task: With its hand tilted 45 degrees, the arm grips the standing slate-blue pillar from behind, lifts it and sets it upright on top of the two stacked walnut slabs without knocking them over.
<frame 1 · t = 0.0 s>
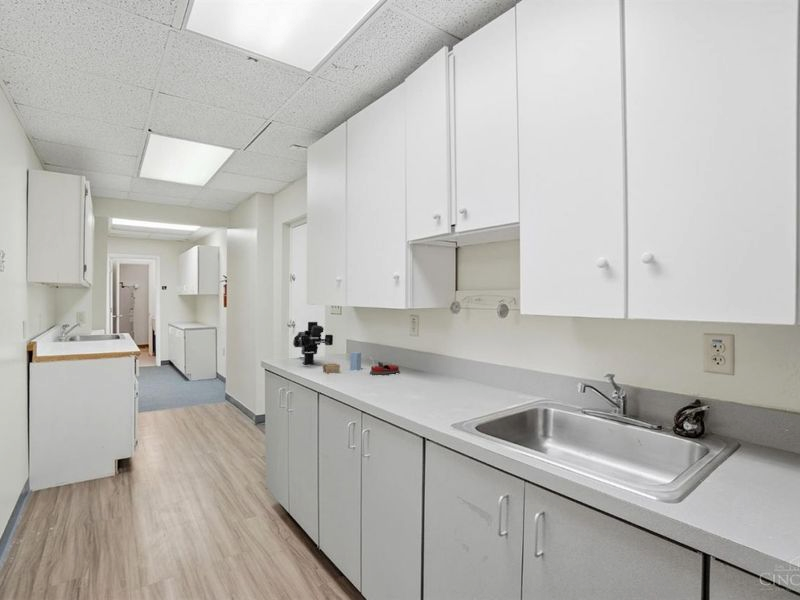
hand: (320, 341, 240), 17 cm above the countertop, tool horizontal, fingers open, 9 cm apart
bumper car: (383, 374, 235), on the countertop
slab bottom: (331, 373, 235), on the countertop, touching slab top
pillar: (355, 369, 246), on the countertop
slab top: (331, 368, 235), point 2 cm above the countertop, touching slab bottom
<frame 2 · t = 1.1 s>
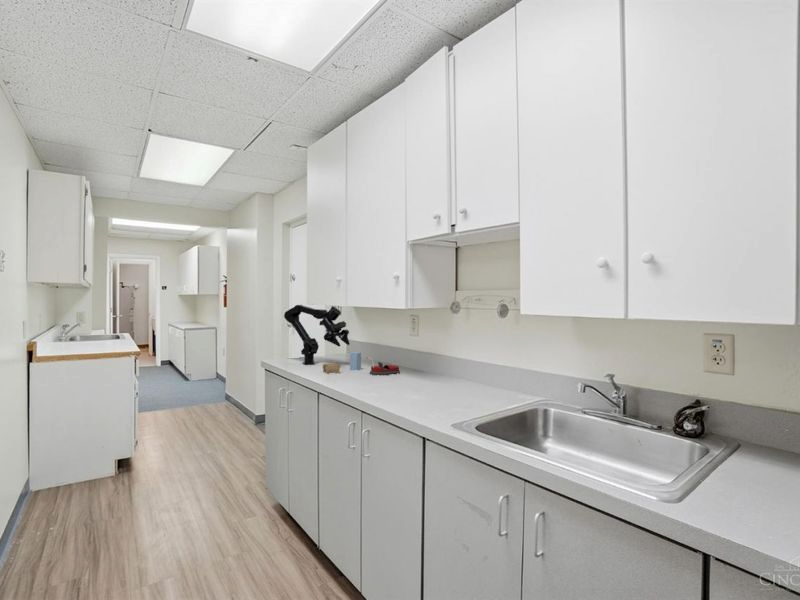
hand: (344, 345, 250), 14 cm above the countertop, tool tilted 45°, fingers open, 9 cm apart
nothing on the countertop moved.
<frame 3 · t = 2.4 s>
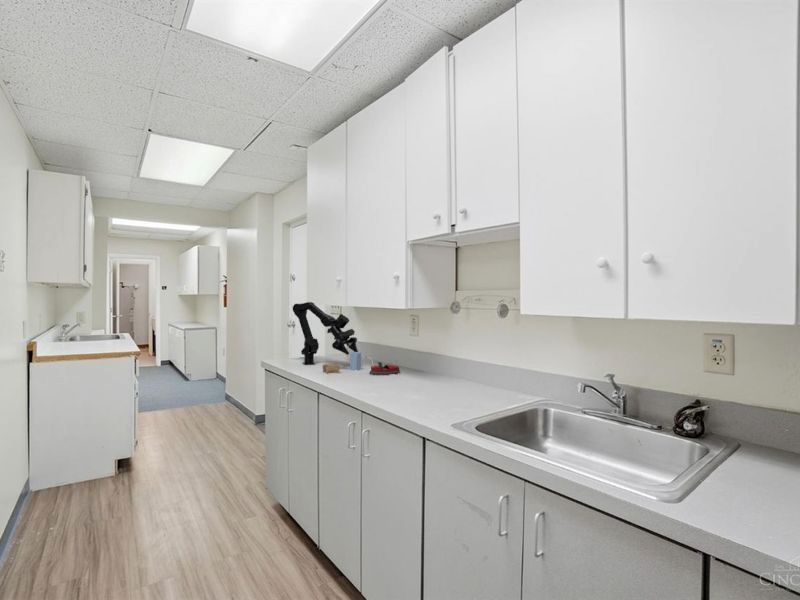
hand: (353, 353, 247), 9 cm above the countertop, tool tilted 45°, fingers open, 9 cm apart
nothing on the countertop moved.
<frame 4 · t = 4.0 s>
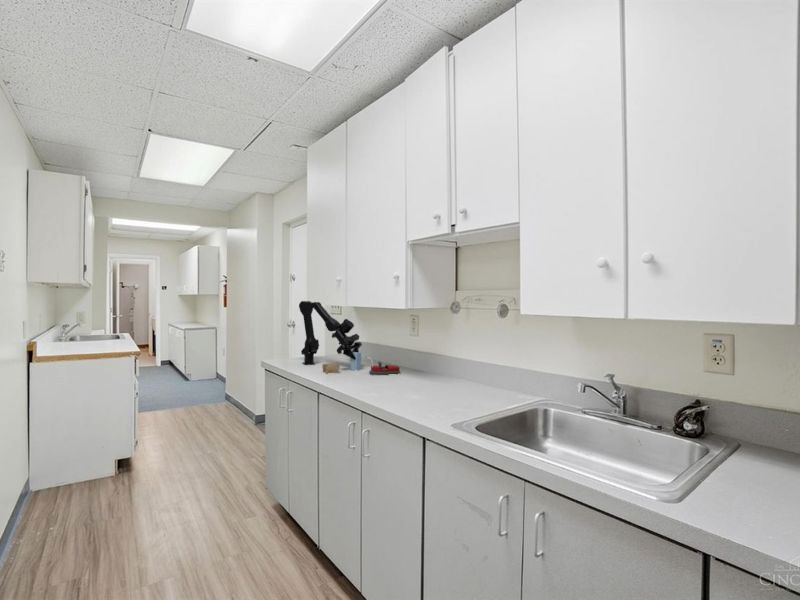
hand: (357, 358, 245), 7 cm above the countertop, tool tilted 45°, fingers closed on pillar, 4 cm apart
slab bottom: (330, 373, 236), on the countertop
pillar: (355, 369, 246), on the countertop, touching gripper
slab top: (331, 368, 236), point 2 cm above the countertop
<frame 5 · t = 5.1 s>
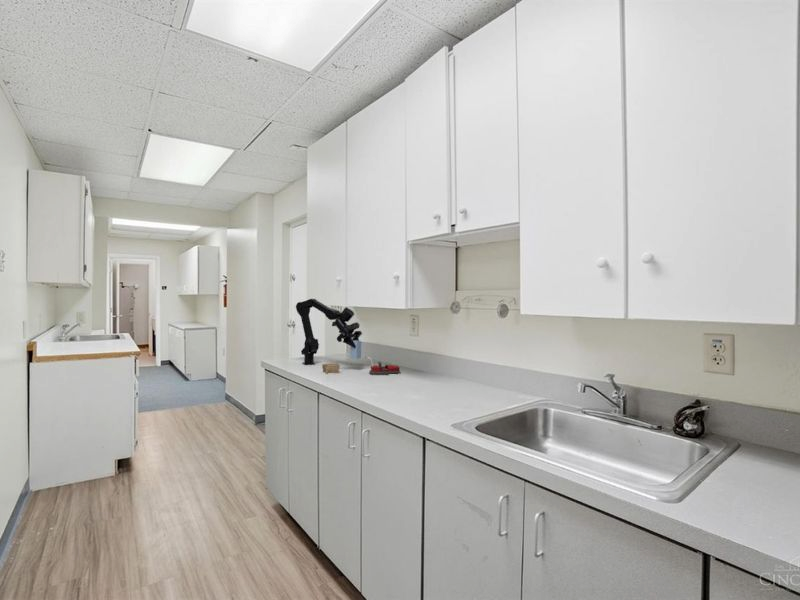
hand: (357, 347, 245), 13 cm above the countertop, tool tilted 45°, fingers closed on pillar, 4 cm apart
slab bottom: (330, 373, 235), on the countertop, touching slab top
pillar: (355, 358, 246), point 7 cm above the countertop, touching gripper
slab top: (330, 368, 236), point 2 cm above the countertop, touching slab bottom
everything else where it was.
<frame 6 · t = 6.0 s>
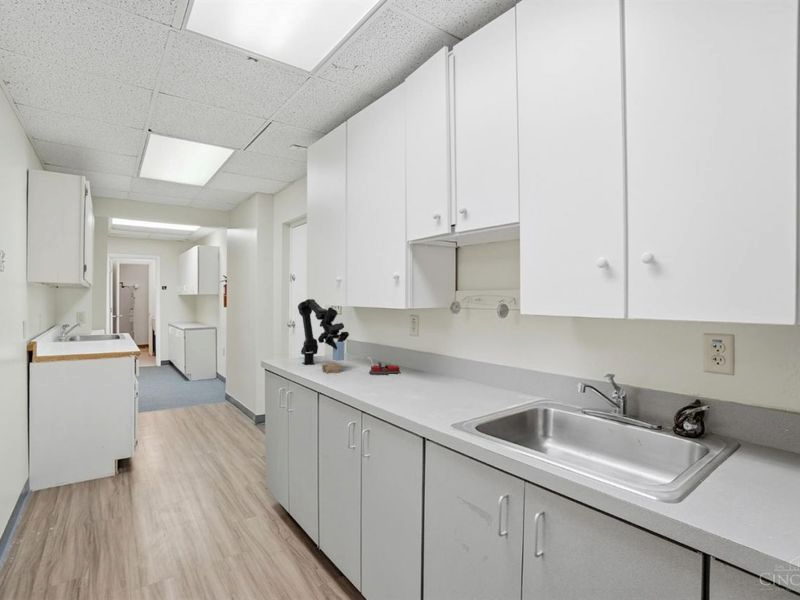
hand: (340, 348, 237), 13 cm above the countertop, tool tilted 45°, fingers closed on pillar, 4 cm apart
pillar: (338, 359, 238), point 7 cm above the countertop, touching gripper
everything else where it was.
when the fingers open (12 cm above the countertop, at t = 7.1 s): pillar drops 1 cm, resting on slab top.
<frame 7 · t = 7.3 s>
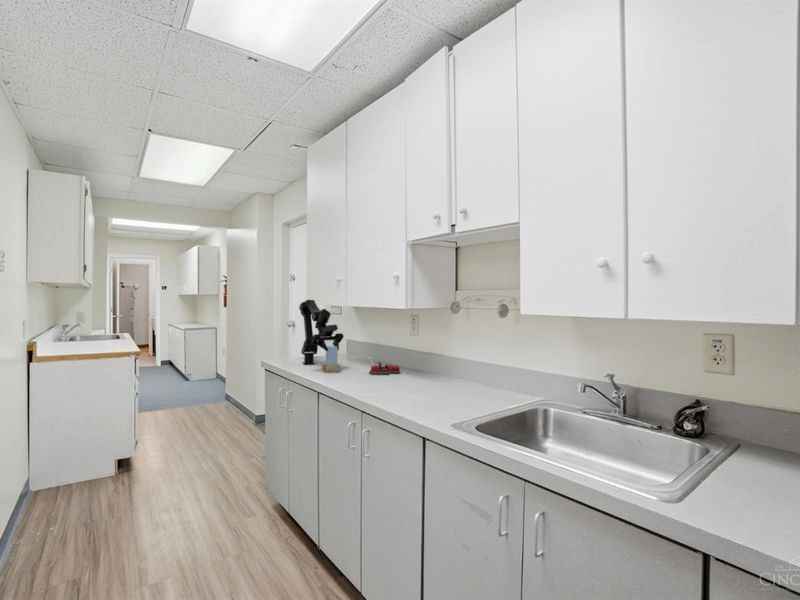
hand: (332, 350, 234), 13 cm above the countertop, tool tilted 45°, fingers open, 7 cm apart
pillar: (331, 364, 235), point 4 cm above the countertop, touching slab top
slab top: (330, 368, 236), point 2 cm above the countertop, touching pillar, slab bottom
everything else where it was.
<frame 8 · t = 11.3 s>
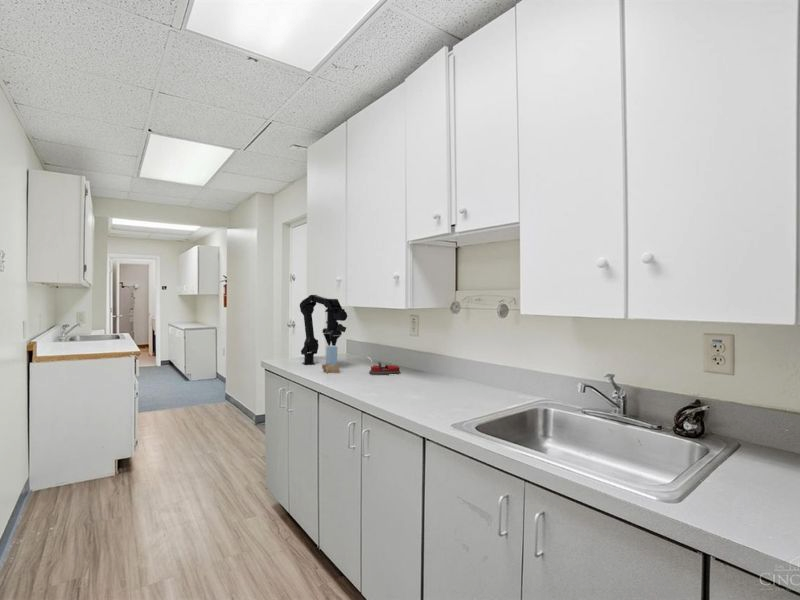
hand: (331, 346, 249), 13 cm above the countertop, tool pointing down, fingers open, 9 cm apart
pillar: (331, 364, 236), point 5 cm above the countertop
slab top: (330, 368, 236), point 2 cm above the countertop, touching slab bottom
at the end: pillar 0.4 cm off-centre on the slab top, point 2.7 cm above the slab top's base; pillar tilted 3°; slab top moved 0.7 cm from its start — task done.
